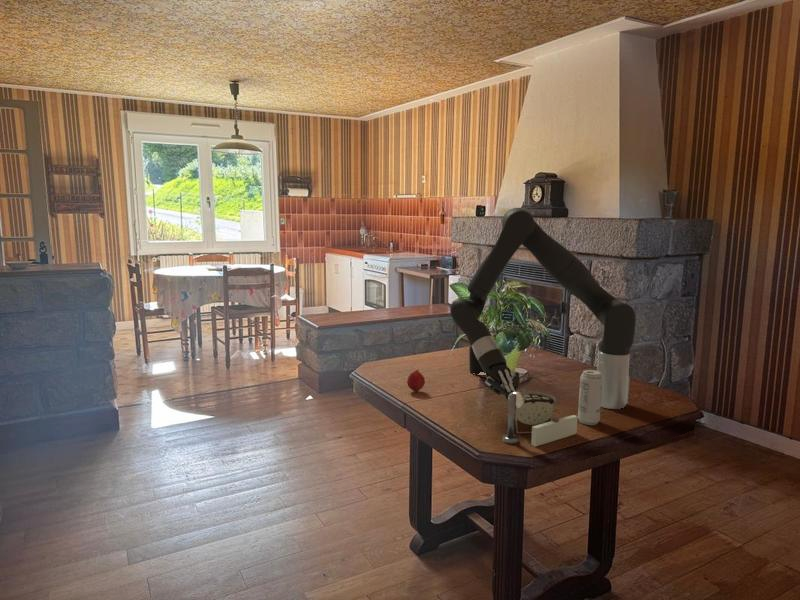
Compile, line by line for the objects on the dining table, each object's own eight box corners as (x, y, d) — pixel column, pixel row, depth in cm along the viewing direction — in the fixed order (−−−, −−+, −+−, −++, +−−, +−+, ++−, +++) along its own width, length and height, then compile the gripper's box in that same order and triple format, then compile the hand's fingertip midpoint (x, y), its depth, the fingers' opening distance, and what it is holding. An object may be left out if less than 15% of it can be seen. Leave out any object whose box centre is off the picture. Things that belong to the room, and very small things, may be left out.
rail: (572, 432, 151) (573, 412, 151) (576, 433, 150) (577, 413, 149) (531, 444, 143) (532, 423, 142) (535, 446, 142) (536, 425, 141)
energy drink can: (601, 426, 156) (605, 375, 153) (579, 425, 156) (583, 374, 154) (596, 418, 162) (600, 369, 159) (575, 417, 162) (578, 368, 160)
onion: (413, 396, 180) (413, 372, 179) (403, 391, 185) (404, 368, 183) (427, 393, 183) (428, 369, 182) (418, 388, 188) (418, 365, 187)
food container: (546, 423, 157) (548, 390, 156) (555, 432, 151) (557, 397, 150) (505, 424, 156) (506, 391, 155) (511, 433, 150) (513, 398, 149)
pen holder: (495, 376, 202) (496, 350, 201) (470, 376, 202) (471, 349, 201) (491, 369, 212) (492, 344, 210) (467, 369, 212) (467, 343, 210)
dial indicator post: (510, 436, 148) (512, 389, 146) (522, 442, 145) (524, 394, 142) (498, 439, 146) (500, 392, 144) (510, 445, 142) (512, 396, 140)
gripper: (478, 350, 160) (505, 403, 152) (511, 345, 167) (539, 395, 159) (465, 363, 165) (492, 415, 157) (498, 358, 172) (524, 407, 164)
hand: (515, 405), depth 158 cm, fingers closed
